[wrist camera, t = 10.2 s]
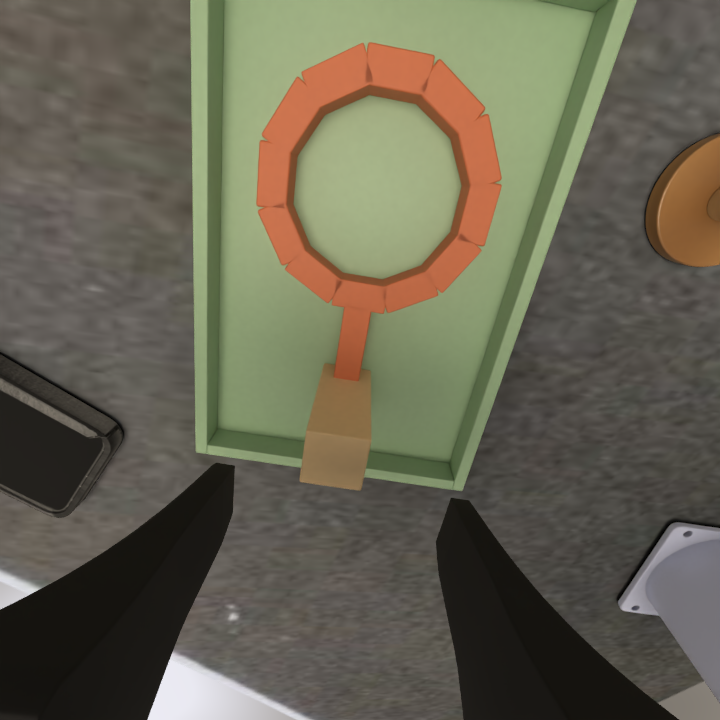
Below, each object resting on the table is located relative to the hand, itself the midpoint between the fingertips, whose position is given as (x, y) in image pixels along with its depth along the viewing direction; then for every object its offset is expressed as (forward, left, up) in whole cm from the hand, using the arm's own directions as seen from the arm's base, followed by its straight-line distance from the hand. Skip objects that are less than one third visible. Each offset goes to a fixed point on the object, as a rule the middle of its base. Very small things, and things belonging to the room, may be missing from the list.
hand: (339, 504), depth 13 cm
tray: (0, -7, -8) cm, 11 cm away
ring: (0, -7, -8) cm, 10 cm away
